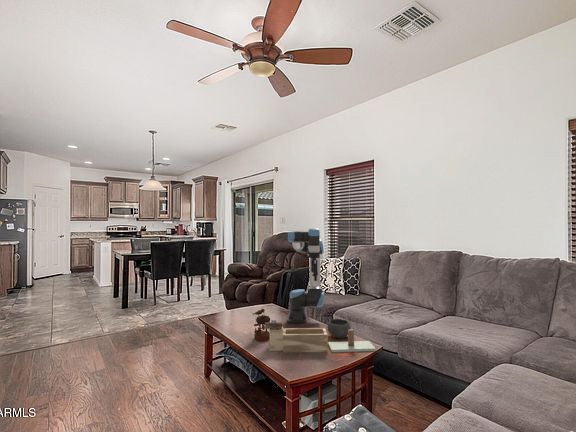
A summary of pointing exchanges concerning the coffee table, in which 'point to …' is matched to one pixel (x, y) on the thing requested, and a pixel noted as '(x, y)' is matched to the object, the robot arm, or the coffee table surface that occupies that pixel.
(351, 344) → the lid
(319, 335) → the toolbox
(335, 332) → the bowl
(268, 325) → the tan wooden beam
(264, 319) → the music box
